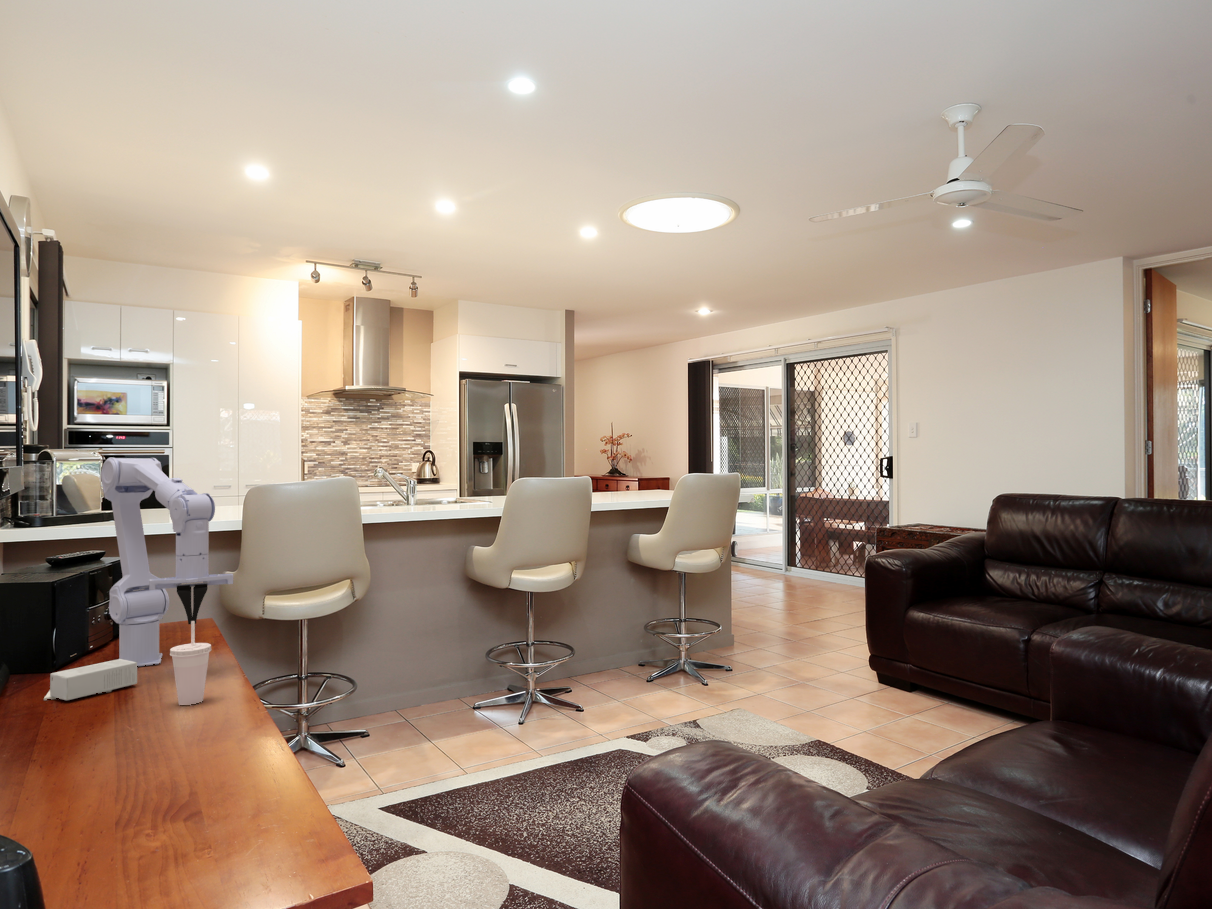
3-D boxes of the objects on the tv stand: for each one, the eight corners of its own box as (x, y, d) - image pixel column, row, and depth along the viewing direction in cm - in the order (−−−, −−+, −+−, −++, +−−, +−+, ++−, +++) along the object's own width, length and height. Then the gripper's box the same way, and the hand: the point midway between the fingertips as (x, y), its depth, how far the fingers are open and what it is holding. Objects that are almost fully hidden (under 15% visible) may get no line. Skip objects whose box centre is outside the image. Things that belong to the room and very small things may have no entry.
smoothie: (219, 697, 132) (219, 618, 132) (196, 708, 125) (196, 625, 126) (185, 696, 132) (185, 618, 133) (160, 708, 126) (160, 625, 126)
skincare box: (121, 680, 143) (49, 696, 132) (121, 658, 143) (49, 672, 132) (138, 684, 139) (65, 701, 129) (138, 661, 140) (66, 676, 129)
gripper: (148, 558, 140) (148, 630, 140) (233, 554, 147) (233, 622, 147) (150, 555, 146) (150, 624, 146) (232, 551, 153) (232, 616, 153)
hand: (192, 623), depth 147 cm, fingers closed
